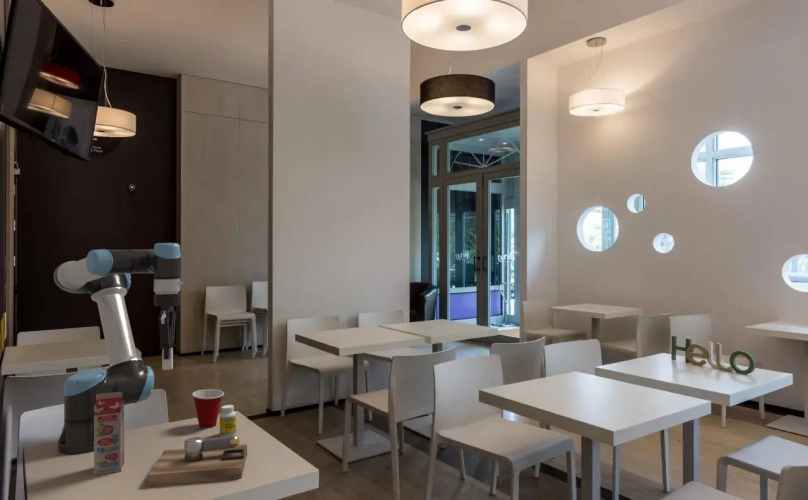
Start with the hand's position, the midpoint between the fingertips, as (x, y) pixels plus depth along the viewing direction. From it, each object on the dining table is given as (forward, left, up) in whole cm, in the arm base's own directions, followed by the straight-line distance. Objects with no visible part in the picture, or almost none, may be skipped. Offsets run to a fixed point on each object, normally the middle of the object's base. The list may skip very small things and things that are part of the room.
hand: (167, 369), depth 164 cm
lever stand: (+14, +12, -26) cm, 32 cm away
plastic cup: (-26, +8, -27) cm, 38 cm away
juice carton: (+8, -14, -27) cm, 31 cm away
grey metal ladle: (+13, +15, -23) cm, 30 cm away
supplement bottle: (-15, +16, -27) cm, 34 cm away
